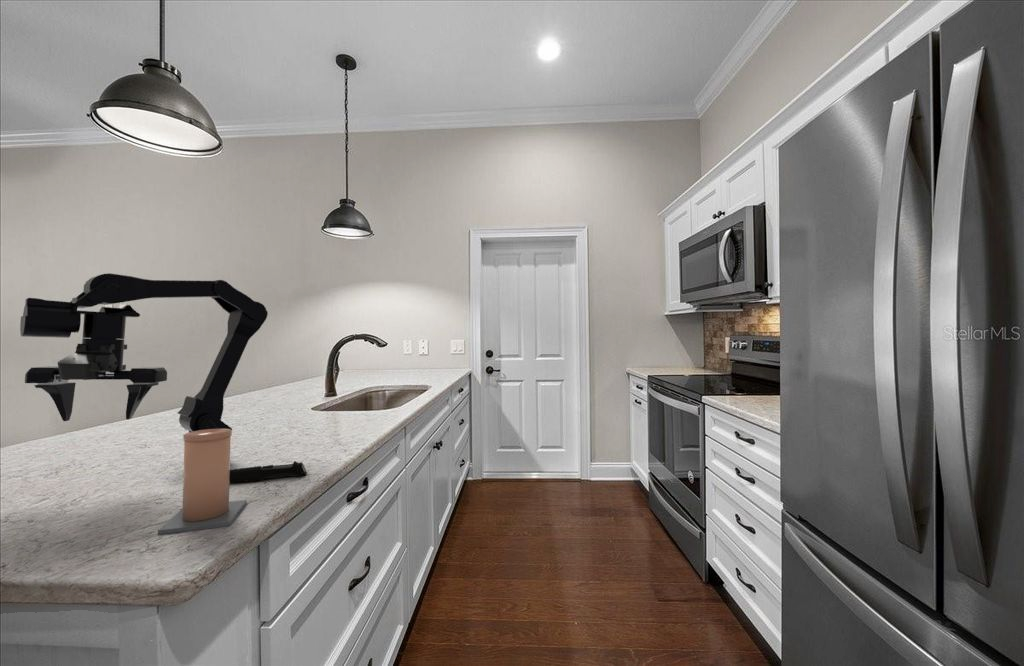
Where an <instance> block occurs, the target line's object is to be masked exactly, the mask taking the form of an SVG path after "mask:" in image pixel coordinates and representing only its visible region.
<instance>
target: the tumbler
mask: <svg viewBox="0 0 1024 666" xmlns="http://www.w3.org/2000/svg"><path fill="white" fill-rule="evenodd" d="M232 436H233V429H232V430H231V429H206V430H199V431H193V432H189V431H188V432H186V433H184V434H183V439H182V440H183V443H184V446H183V449H184V451H183V480H182V481H183V483H182V508H183V510H182V519H183V520H185V521H201V520H207V519H211V518H215V517H217V516H220V515H222V514H224V513H226V512H227V511H228V510H229V502H230V483H231V482H230V470H231V441H232V440H231V439H232Z"/></svg>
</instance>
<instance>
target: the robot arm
mask: <svg viewBox="0 0 1024 666" xmlns="http://www.w3.org/2000/svg"><path fill="white" fill-rule="evenodd" d="M173 298H174V299H175V298H177V299H178V298H180V299H181V298H182V299H183V298H211V299H212V300H214V301H215V302H216V303H217V304H218V305H219V307H221V309H222V310H224V311H225V312H227V313H228V315H229V316H228V319H227V334H226V337H225V338H224V340H223V343H222V345H221V346H220V349H219V351H218V353H217V355H216V357H215V360H214V362H213V364H212V366H211V368H210V370H209V373H208V374H207V376H206V379H205V381H204V383H203V385H202V388H201V389H200V390H199V391H198V393H197V394H196V395H195V396H193V397H192V396H189V395H187V396H185V398H184V402H183V405H182V406H181V409H180V410H179V411H177V414H178V415H179V418H178V422H179V424H180V426H181V427H182V428H183V429H184V430H186V431H188V433H189V432H193V431H199V430H206V429H231V430H232V431H233V428H232V427H231V426H229V425H228V424H227V423H225V422H224V421H223V420H222V416H223V413H224V396H225V393H226V392H227V389H228V387H229V384H230V382H231V380H232V378H233V376H234V373H235V371H236V369H237V367H238V364H239V362H240V360H241V359H242V355H243V353H244V351H245V349H246V348H247V344H248V342H249V340H250V339H251V338H252V337H253V336H254V335H255V334H256V333H257V332H258V331H259V330H260V328H261V327H262V326H263V325H264V323H265V322H266V320H267V318H268V315H269V314H268V313H269V312H268V310H267V308H266V306H265V305H264V304H262V303H261V302H259V301H254V299H252V298H251V297H249V296H248V295H247V294H245V293H243V291H239V290H238V289H237V288H235V287H234V286H232V285H231V284H230V283H228V282H227V281H226V280H223V279H217V280H178V279H177V280H169V279H166V280H161V279H160V280H158V279H157V280H156V279H154V280H153V279H146V278H140V277H136V276H131V275H125V274H124V275H123V274H118V273H117V274H116V273H103V274H98V275H96V276H93V277H90V278H89V279H88V280H86V282H85V283H84V284H83V291H82V292H81V293H80V294H78V295H77V296H76V297H72V299H71V301H62V300H61V301H60V300H50V299H49V300H48V299H42V298H36V297H27V298H25V302H24V307H23V311H22V312H23V313H22V315H21V316H20V324H19V326H20V327H19V331H20V336H21V337H26V338H27V337H29V338H65V339H66V338H67V339H69V338H70V337H71V335H72V333H76V334H77V333H79V332H80V329H81V321H82V320H81V319H82V318H81V317H82V316H81V315H83V324H82V339H81V343H77V346H75V347H76V348H75V352H74V353H72V354H69V355H67V356H65V357H63V358H62V359H60V360H59V361H57V365H56V366H37V367H36V366H35V367H30V368H29V369H28V370H27V371H26V372H25V377H24V384H34V387H35V388H36V389H42V390H43V391H44V392H46V393H47V394H49V396H50V397H51V399H52V401H53V403H54V404H55V407H56V408H57V412H58V414H59V415H60V417H61V420H62V421H63V422H67V421H70V420H71V416H72V413H73V405H74V399H75V391H76V390H75V389H76V382H73V381H72V382H68V381H70V380H82V381H90V380H91V381H92V380H107V381H109V380H122V381H123V380H128V381H131V382H132V384H131V383H130V384H126V389H127V392H128V395H127V402H126V409H125V420H131V419H132V418H133V416H134V414H135V412H136V411H137V410H138V408H139V407H140V404H141V402H142V401H143V400H144V398H145V397H146V395H147V394H148V393H149V392H150V390H151V389H152V387H154V386H155V387H156V386H159V383H161V382H166V381H167V380H168V371H167V370H166V368H165V367H161V366H160V367H159V366H158V367H157V366H155V367H154V366H151V367H150V366H149V367H148V366H147V367H146V366H142V367H132V368H130V370H126V368H127V365H126V364H124V351H125V350H128V344H126V343H125V337H126V335H125V333H126V323H127V321H126V320H127V318H139V317H141V313H139V312H137V311H136V309H134V308H133V307H132V306H131V305H130V304H126V305H124V306H122V307H121V308H120V307H108V306H105V305H114V304H120V303H126V302H131V301H133V302H134V301H140V300H147V299H173ZM97 305H104V306H102V307H101V308H100V309H99V311H94V310H93V311H90V310H89V311H88V310H78V309H85V308H92V307H95V306H97Z"/></svg>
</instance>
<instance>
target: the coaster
mask: <svg viewBox="0 0 1024 666" xmlns="http://www.w3.org/2000/svg"><path fill="white" fill-rule="evenodd" d="M247 503H248V501H247V499H244V500H243V499H242V500H233V501H229V510H228V511H227V512H226V513H224V514H222V515H220V516H217V517H215V518H211V519H207V520H201V521H185V520H183V519H182V510H183V507H182V508H181V509H180V510H178V512H176V513H175V515H173V516H172V517H171V518H170V519H169V520H168V521H166V522H165V523H164V524H162V526H161V527H160V528H159V529H157V535H165V534H174V533H180V532H190V531H198V530H205V529H206V530H207V529H214V528H215V529H216V528H223V527H230V526H231V524H232V523H233V522H234V520H236V518H237V517H238V516H239V515H240V513H241V511H242V510H243V508H245V506H246V505H247Z"/></svg>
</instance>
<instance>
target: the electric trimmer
mask: <svg viewBox="0 0 1024 666" xmlns="http://www.w3.org/2000/svg"><path fill="white" fill-rule="evenodd" d="M306 475H307V470H306V467H305V465H304V463H303V462H302V461H300V462H297V461H295V460H294V461H293V463H289V464H280V465H279V464H277V465H273V464H271V465H270V464H269V465H263V466H261V465H257V466H251V467H242V468H241V467H240V468H234V469H231V468H230V482H229V483H239V482H241V483H242V482H243V483H244V482H245V483H246V482H260V481H261V480H266V479H276V478H284V477H285V478H286V477H297V476H298V477H299V478H302V477H303V476H304V477H305V476H306Z"/></svg>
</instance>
